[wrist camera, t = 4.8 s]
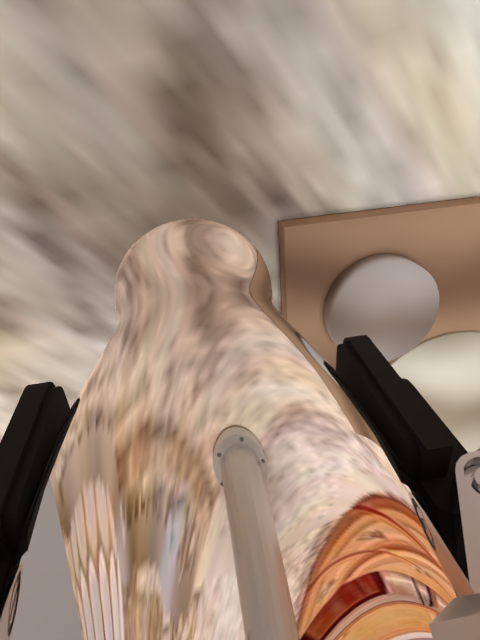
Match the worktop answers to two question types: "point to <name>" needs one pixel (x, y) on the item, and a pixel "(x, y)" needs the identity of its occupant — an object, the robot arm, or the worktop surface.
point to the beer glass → (221, 477)
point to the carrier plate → (395, 296)
